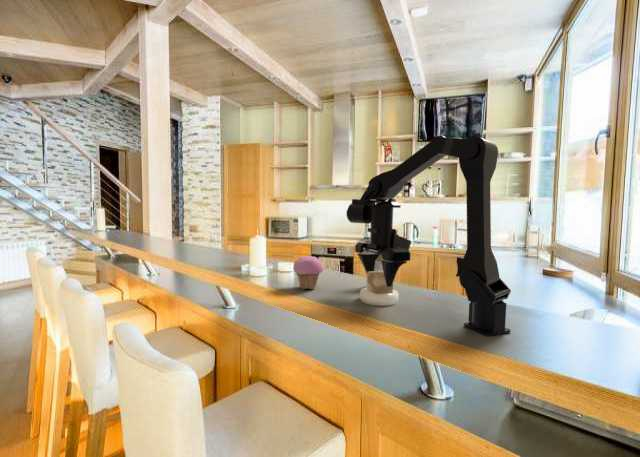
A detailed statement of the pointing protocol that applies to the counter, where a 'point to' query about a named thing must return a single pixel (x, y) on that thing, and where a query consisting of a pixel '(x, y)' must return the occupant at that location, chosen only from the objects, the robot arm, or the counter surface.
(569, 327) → the counter surface
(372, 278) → the beech cube
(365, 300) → the ceramic stand
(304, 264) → the cupcake
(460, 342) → the counter surface
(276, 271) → the counter surface
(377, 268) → the sprinkles bottle
